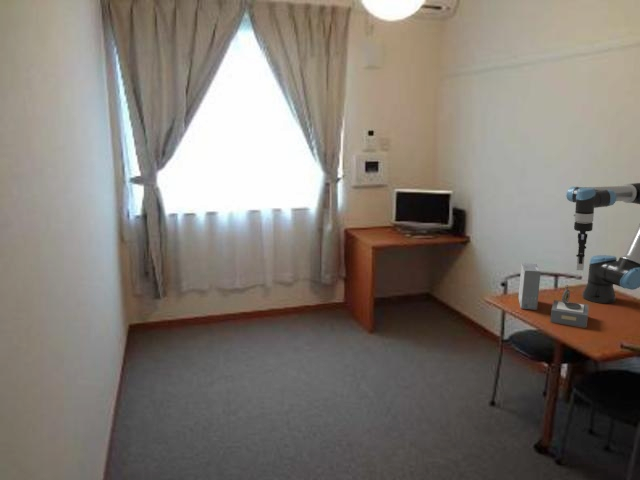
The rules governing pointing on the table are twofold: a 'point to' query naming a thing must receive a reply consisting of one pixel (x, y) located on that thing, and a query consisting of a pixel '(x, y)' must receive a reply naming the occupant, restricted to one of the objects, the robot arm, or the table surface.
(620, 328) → the table surface
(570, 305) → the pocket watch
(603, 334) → the table surface
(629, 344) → the table surface
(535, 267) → the hard drive box
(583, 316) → the display plinth
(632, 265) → the robot arm
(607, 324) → the table surface
